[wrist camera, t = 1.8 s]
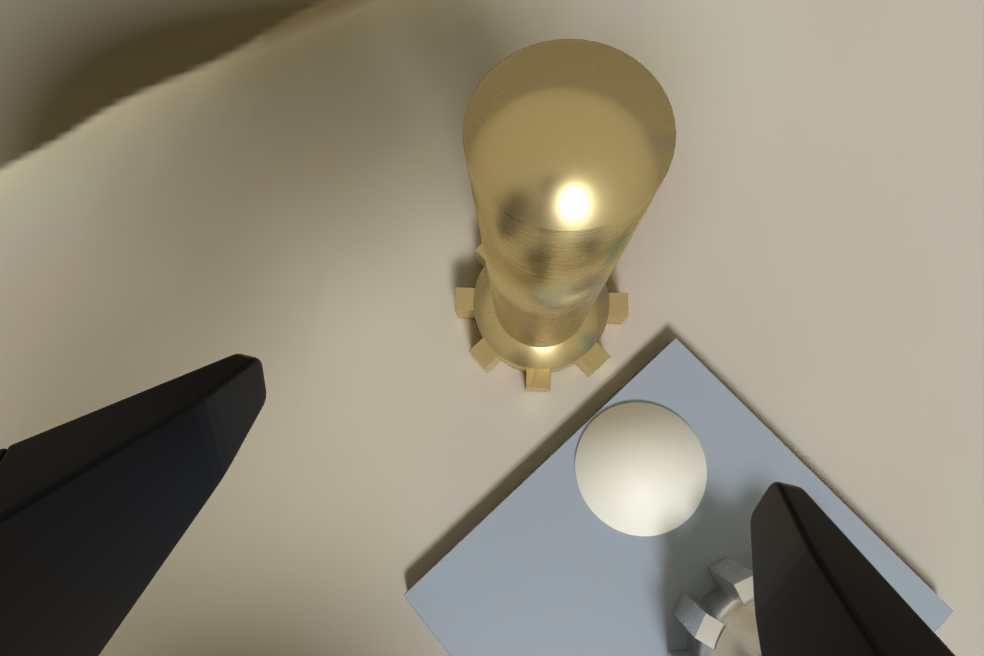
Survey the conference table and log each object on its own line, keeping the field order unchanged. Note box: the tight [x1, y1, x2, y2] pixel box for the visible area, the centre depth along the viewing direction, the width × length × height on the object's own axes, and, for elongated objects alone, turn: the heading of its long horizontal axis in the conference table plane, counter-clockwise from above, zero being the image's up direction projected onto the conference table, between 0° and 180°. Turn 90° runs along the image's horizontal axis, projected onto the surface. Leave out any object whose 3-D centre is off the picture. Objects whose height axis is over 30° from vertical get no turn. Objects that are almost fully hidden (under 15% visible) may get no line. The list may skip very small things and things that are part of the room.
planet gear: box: [455, 39, 676, 391], centre depth 15 cm, size 7×7×13 cm
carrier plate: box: [404, 338, 954, 656], centre depth 19 cm, size 14×13×1 cm
